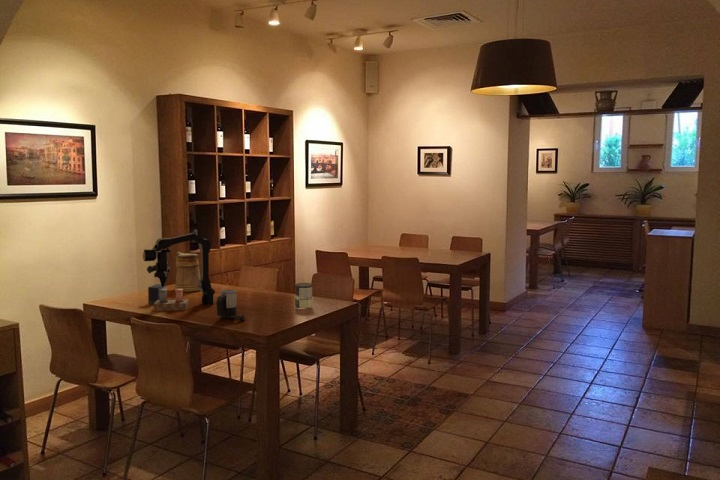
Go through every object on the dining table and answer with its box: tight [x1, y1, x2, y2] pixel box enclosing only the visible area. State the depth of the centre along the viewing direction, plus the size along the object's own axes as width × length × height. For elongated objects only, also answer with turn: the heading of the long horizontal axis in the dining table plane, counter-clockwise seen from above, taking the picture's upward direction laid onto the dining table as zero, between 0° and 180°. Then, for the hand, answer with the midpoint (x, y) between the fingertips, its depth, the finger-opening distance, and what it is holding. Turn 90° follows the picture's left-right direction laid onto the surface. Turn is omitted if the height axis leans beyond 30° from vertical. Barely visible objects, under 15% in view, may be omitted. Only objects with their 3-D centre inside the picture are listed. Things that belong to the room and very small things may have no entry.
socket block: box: [153, 299, 190, 312], centre depth 343 cm, size 18×10×4 cm, turn 99°
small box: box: [147, 283, 167, 305], centre depth 358 cm, size 11×6×10 cm, turn 168°
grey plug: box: [159, 288, 168, 303], centre depth 342 cm, size 5×5×8 cm
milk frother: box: [215, 289, 246, 321], centre depth 321 cm, size 14×16×15 cm
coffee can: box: [294, 282, 313, 309], centre depth 349 cm, size 10×10×14 cm
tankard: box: [174, 251, 201, 293], centre depth 398 cm, size 18×24×25 cm
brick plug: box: [174, 288, 184, 303], centre depth 343 cm, size 5×5×8 cm
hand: (163, 286), depth 341 cm, fingers closed
